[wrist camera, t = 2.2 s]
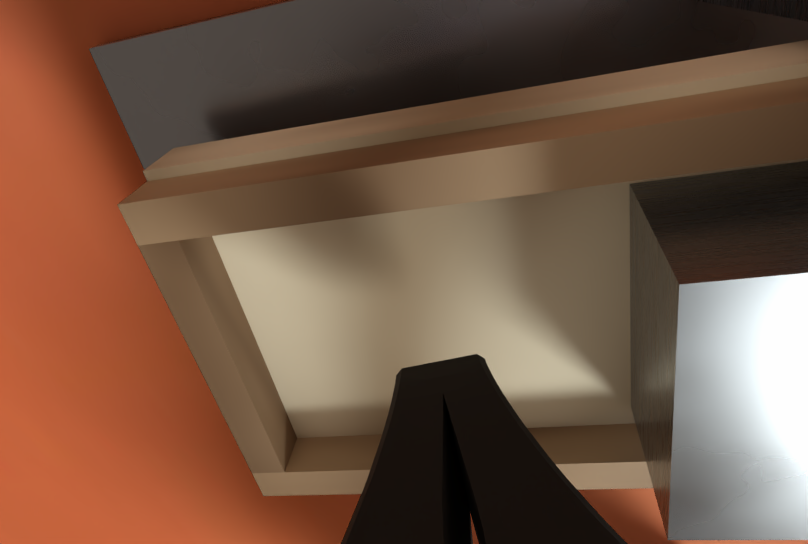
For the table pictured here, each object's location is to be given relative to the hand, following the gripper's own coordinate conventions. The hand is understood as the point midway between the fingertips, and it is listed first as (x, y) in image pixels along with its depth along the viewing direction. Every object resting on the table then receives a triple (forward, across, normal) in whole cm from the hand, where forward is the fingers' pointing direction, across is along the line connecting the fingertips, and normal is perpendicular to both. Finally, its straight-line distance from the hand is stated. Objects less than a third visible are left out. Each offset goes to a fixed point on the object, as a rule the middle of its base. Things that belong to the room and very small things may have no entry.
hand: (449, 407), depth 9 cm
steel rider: (+1, -6, 0) cm, 6 cm away
